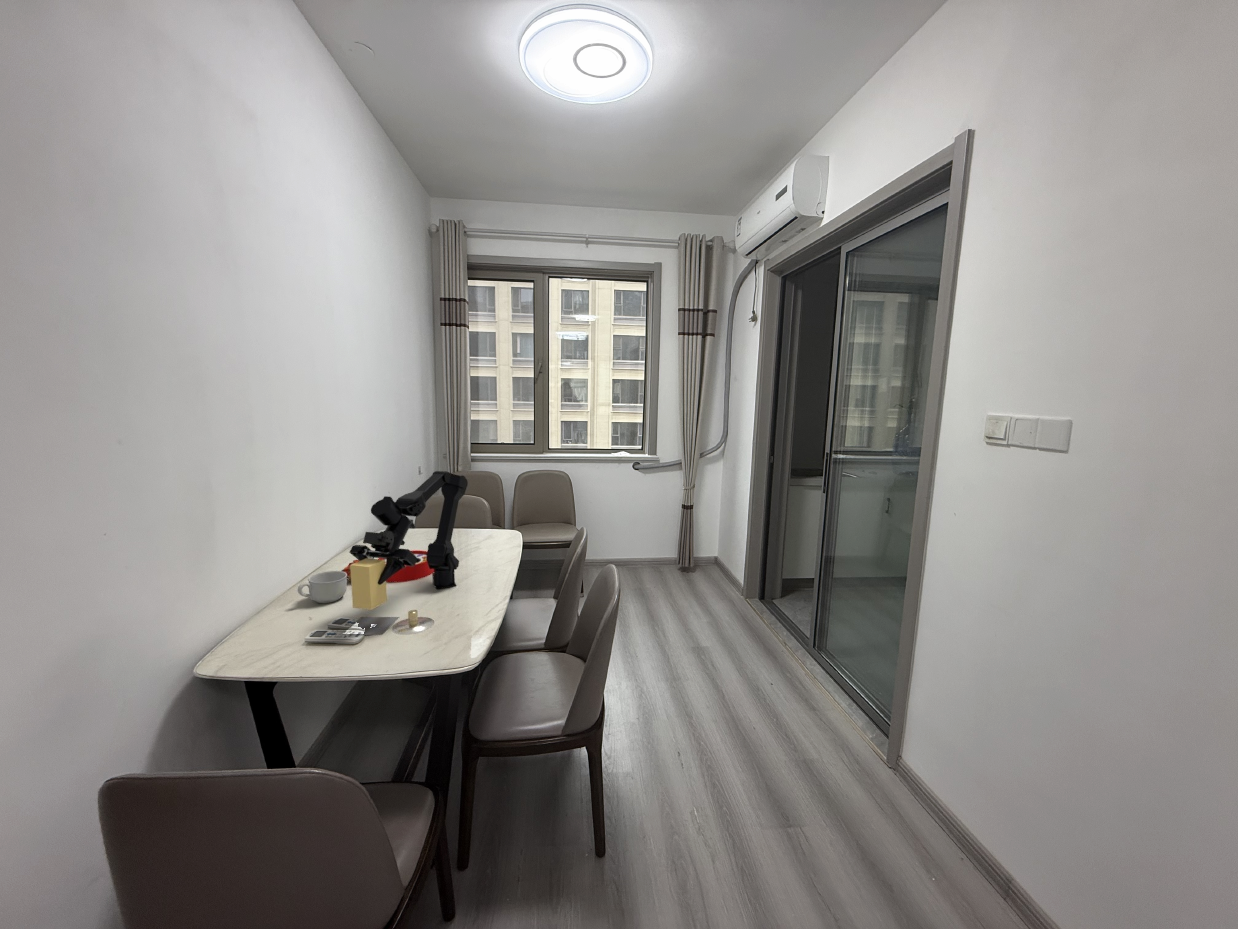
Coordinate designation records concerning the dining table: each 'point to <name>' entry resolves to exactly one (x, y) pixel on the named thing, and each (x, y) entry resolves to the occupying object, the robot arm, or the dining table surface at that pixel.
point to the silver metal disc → (413, 624)
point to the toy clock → (412, 569)
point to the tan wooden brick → (368, 584)
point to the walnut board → (380, 628)
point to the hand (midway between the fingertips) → (369, 583)
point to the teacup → (325, 586)
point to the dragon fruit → (348, 571)
